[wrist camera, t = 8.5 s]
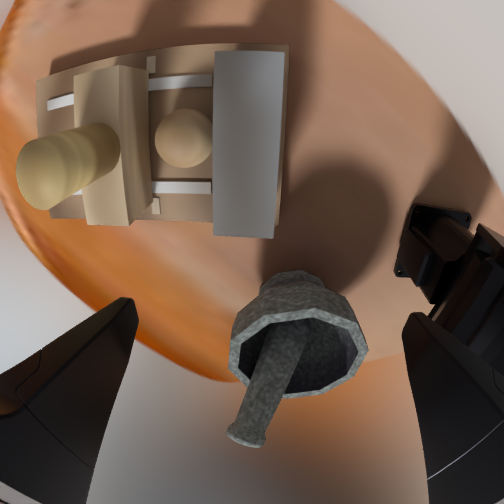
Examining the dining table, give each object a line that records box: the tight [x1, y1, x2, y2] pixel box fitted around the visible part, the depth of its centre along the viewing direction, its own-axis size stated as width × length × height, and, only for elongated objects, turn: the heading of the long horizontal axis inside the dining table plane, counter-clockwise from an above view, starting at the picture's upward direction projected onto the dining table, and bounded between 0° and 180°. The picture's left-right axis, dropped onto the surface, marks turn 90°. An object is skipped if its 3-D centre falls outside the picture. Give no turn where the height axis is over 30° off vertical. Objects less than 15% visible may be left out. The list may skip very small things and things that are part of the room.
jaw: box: [16, 65, 153, 226], centre depth 13 cm, size 3×9×9 cm, turn 178°
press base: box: [36, 43, 289, 239], centre depth 15 cm, size 19×12×6 cm, turn 88°
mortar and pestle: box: [226, 270, 368, 448], centre depth 19 cm, size 11×9×12 cm
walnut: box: [155, 109, 213, 168], centre depth 15 cm, size 4×4×4 cm
